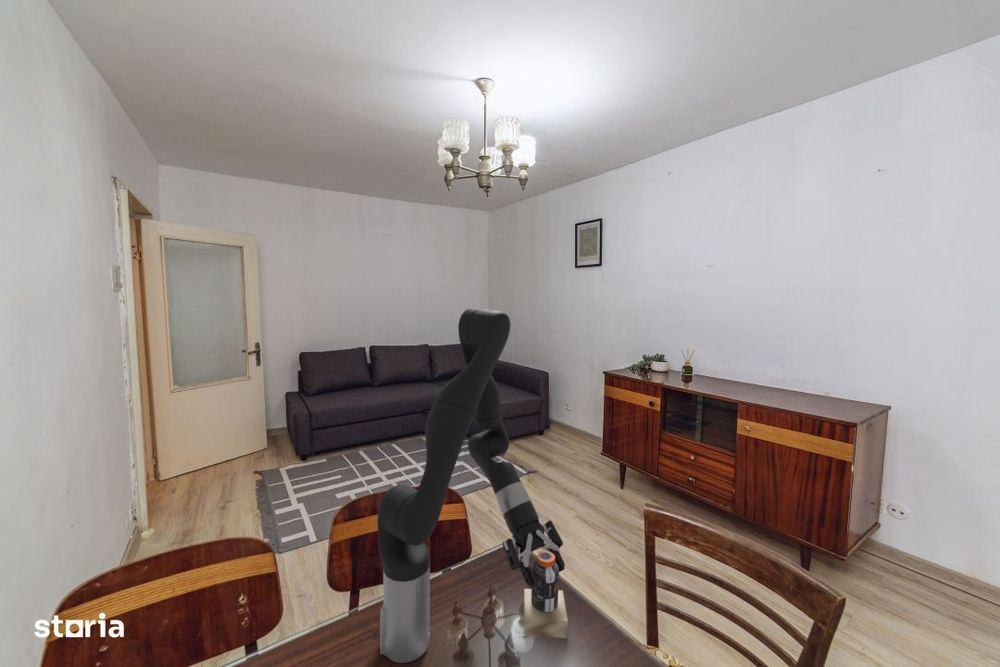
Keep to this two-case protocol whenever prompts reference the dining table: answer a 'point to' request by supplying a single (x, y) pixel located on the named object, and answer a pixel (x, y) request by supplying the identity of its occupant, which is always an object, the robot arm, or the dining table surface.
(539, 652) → the dining table surface
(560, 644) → the dining table surface
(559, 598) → the maple block
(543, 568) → the pill bottle
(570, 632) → the dining table surface
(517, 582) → the dining table surface
